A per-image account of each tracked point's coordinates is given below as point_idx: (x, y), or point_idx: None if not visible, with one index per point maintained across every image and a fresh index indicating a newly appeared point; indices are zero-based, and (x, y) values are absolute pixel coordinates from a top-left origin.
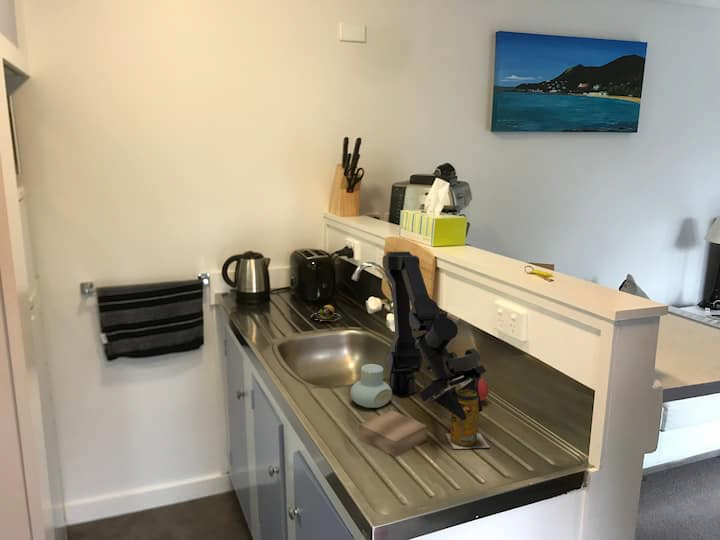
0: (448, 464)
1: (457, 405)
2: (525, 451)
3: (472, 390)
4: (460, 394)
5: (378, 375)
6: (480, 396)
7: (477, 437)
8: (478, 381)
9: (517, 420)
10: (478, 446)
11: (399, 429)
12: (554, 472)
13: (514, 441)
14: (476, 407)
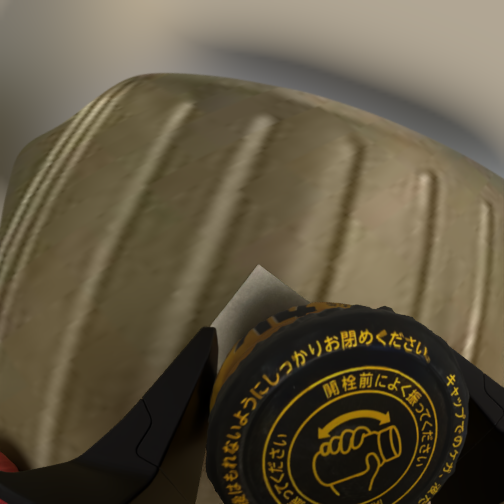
0: (449, 295)
1: (482, 372)
2: (175, 177)
3: (235, 456)
4: (455, 441)
5: None
6: (1, 461)
7: (219, 352)
8: (39, 475)
9: (12, 312)
10: (284, 303)
11: None
12: (229, 84)
13: (136, 238)
14: (325, 307)
